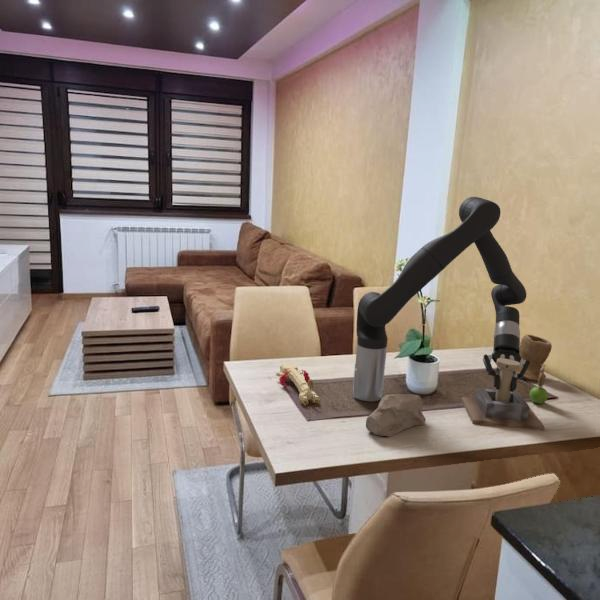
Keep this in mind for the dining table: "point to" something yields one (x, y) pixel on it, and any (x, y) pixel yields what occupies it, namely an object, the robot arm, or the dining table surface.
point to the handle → (505, 378)
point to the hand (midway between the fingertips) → (505, 389)
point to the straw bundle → (298, 382)
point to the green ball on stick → (539, 390)
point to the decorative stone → (396, 414)
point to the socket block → (501, 410)
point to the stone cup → (534, 355)
